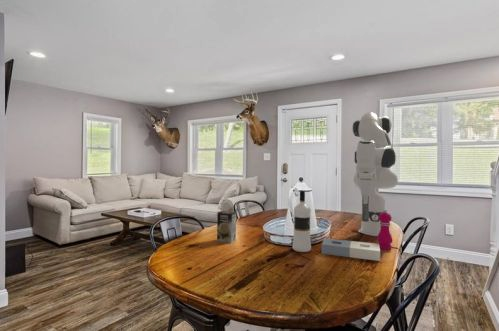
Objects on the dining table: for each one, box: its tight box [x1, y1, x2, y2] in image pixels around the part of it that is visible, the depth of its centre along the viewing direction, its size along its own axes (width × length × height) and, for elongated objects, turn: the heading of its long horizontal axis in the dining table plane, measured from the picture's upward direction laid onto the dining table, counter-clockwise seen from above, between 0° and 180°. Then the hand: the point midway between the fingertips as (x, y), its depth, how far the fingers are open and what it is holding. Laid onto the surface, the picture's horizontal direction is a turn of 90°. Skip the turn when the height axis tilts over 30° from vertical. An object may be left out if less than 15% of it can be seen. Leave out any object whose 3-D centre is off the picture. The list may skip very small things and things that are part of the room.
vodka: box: [292, 190, 312, 253], centre depth 144 cm, size 9×9×30 cm
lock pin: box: [361, 195, 369, 222], centre depth 136 cm, size 3×3×14 cm
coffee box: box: [216, 210, 237, 244], centre depth 159 cm, size 9×6×16 cm
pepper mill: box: [376, 209, 393, 251], centre depth 148 cm, size 7×7×20 cm
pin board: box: [321, 237, 381, 262], centre depth 139 cm, size 12×26×4 cm, turn 68°
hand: (365, 203), depth 136 cm, fingers closed on lock pin, 3 cm apart
